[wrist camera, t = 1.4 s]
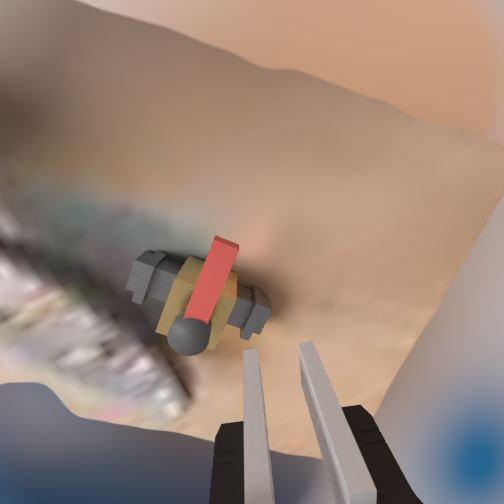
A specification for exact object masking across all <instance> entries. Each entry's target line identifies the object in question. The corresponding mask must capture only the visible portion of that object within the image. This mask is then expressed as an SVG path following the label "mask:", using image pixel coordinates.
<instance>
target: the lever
mask: <svg viewBox="0 0 504 504" xmlns="http://www.w3.org/2000/svg"><path fill="white" fill-rule="evenodd" d="M238 251H239V245H238V244H236V243H233V242H231V241H228V240H226V239H223V238H220V237H218V236H215V238H214V240H213V243H212V245H211V248H210V250H209V253H208V255H207V258H206V260H205V263H204V266H203V268H202V271H201V273H200V276H199V278H198V281H197V283H196V286H195V288H194V291H193V294H192V296H191V299H190V301H189V304H188V306H187V308H185V309H183V310H181V311H180V312H178V314H177V315H176V316H175V318H174V320H173V323H172V325H171V327H170V329H169V331H168V335H167V339H168V343H169V345H170V347H171V348H172V349H173V350H174V351H175V352H177V353H179V354H182V355H186V356H192V355H197V354H199V353H201V352H202V351H204V350H205V349H206V347H207V346H208V343H209V339H210V333H211V328H212V321H211V318H210V317H211V315H212V312H213V310H214V307H215V305H216V303H217V300H218V298H219V296H220V293H221V291H222V289H223V286H224V284H225V282H226V279H227V277H228V275H229V272H230V270H231V268H232V265H233V263H234V260H235V258H236V256H237V253H238Z"/></svg>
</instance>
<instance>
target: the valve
mask: <svg viewBox="0 0 504 504" xmlns="http://www.w3.org/2000/svg"><path fill="white" fill-rule="evenodd" d="M165 257H166V253H163V252H161V251H157V252H156V253H155V254H154V253H151V252H149V251H145V252H144V253H143V254H142V255H140V256H139V257H138V258H137V259H135V261H134V264H133V267H132V270H131V273H130V276H129V280H128V283H127V286H126V289H128V290H131V291H134V295H133V299H132V302H135V303H138V304H141V305H142V303H143V302H144V301H145V299H146V298H147V297H151V298H154V299H157V300H160V301H163V302H166V304H165V307H164V310H163V312H162V315H161V318H160V321H159V323H158V326H157V329H156V332H157V333H161V334H164V335H168V331H169V329H170V327H171V325H172V323H173V320H174V318H175V316H176V315H177V314H178V312H180V311H181V310H183V309H185V308H187V306H188V304H189V301H190V299H191V296H192V294H193V291H194V288H195V286H196V283H197V281H198V278H199V276H200V273H201V271H202V268H203V266H204V263H205V261H202V260H200V259H197V258H194V257H192V256H189V257H188V258H187V260H186V262H185V263H184V264H181V263H178V262H176V261H173V260H170V259H168V258H165ZM271 311H272V308H271V304H270V299H269V296H268V295H265V294H262V289H260V288H257V287H255V286H254V287H253V289H252V290H251V289H249V288H246V287H243V286H241V285H238V284H237V273H234V272H232V271H230V272H229V275H228V277H227V279H226V282H225V284H224V286H223V289H222V291H221V293H220V296H219V298H218V300H217V303H216V305H215V307H214V310H213V312H212V315H211V317H210V318H211V321H212V328H211V333H210V339H209V343H208V346H207V347H206V348H207V349H210V350H213V351H214V349H215V347H216V345H217V343H218V340H219V338H220V336H221V334H222V332H223V329H224V327H225V325H226V323H227V324H230V325H233V326H236V327H238V328H240V338H242V339H245V340H248V341H249V339H250V337H251V334H252V332H253V333H256V334H259V335H260V333H261V331H262V329H263V327H264V325H265V323H266V321H267V319H268V317H269V315H270V313H271Z"/></svg>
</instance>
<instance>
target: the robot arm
mask: <svg viewBox="0 0 504 504" xmlns="http://www.w3.org/2000/svg"><path fill="white" fill-rule="evenodd" d="M298 347H299V360H300V372H301V384H302V388H303V392H304V395H305V399H306V402H307V406H308V409H309V413H310V416H311V419H312V423H313V426H314V430H315V433H316V437H317V440H318V444H319V447H320V451H321V454H322V458H323V461H324V465H325V468H326V471H327V475H328V478H329V482H330V485H331V489H332V492H333V496H334V499H335V502H336V504H423V503H422V502H421V501H420V499H419V498H418V497H417V496H416V495H415V493H414V492H413V490H412V489H411V487H410V485H409V484H408V482H407V480H406V478H405V476H404V474H403V472H402V471H401V469H400V467H399V465H398V463H397V461H396V460H395V458H394V456H393V454H392V452H391V450H390V449H389V447H388V445H387V443H386V442H385V439H384V437H383V436H382V434H381V432H380V431H379V428H378V426H377V425H376V423H375V421H374V419H373V417H372V415H371V414H370V413H368V412H367V411H366V410H365V409H364V408H363V407H362V406H361V405H355V406H347V407H341V406H340V404H339V401H338V399H337V397H336V394H335V392H334V390H333V387H332V385H331V383H330V380H329V378H328V376H327V373H326V371H325V369H324V366H323V364H322V362H321V359H320V357H319V355H318V353H317V350H316V348H315V346H314V343H313V341H311V342H303V343H298ZM243 409H244V421H241V422H233V423H225V424H221V426H220V428H219V431H218V433H217V435H216V437H215V446H214V457H213V468H212V478H211V488H210V499H209V504H275V501H274V491H273V481H272V471H271V462H270V453H269V443H268V433H267V423H266V414H265V404H264V394H263V386H262V379H261V372H260V364H259V357H258V350H257V349H250V350H243Z"/></svg>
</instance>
